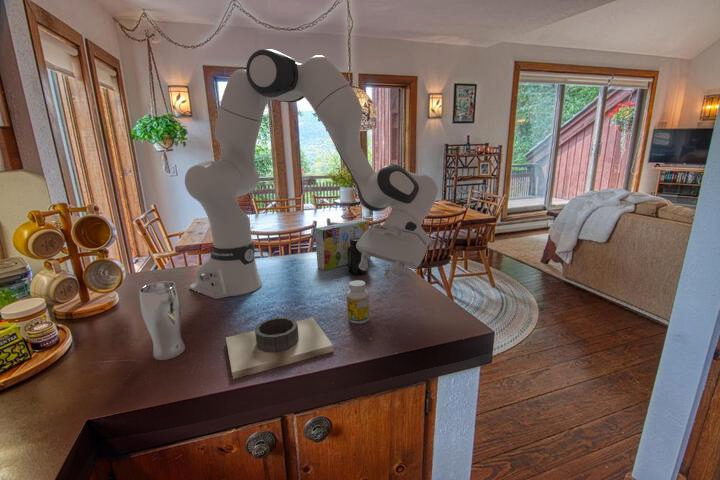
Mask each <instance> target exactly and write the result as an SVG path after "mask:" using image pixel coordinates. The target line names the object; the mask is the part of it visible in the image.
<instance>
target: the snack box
mask: <svg viewBox="0 0 720 480" xmlns="http://www.w3.org/2000/svg"><path fill="white" fill-rule="evenodd" d="M369 223H370V222H369V220H367V219H361V218H360V219H355V220H354V219H353V220H350V221H345V222H344V221H343V222H340V223H335V224H330V225H323V226H319V227H315V228H314V238H315V249H316V251H315V252H316V261H317V262H316V263H317V265H316V266H317V268H318V267H319V268H318V269H320V268H321V270H322V269H323V271H324V272H326V270H327V271H330V270H332V268H333V269H337V268H339V266H340V267H344V266H347V265H348V261H347V249H348V247H349V246H351V245H350V239H351V238H355V237H360V238H361V237H362V235H363V234H364V233H365V232H366V231H367V230H368V229H369V228H370V226H369V225H370V224H369ZM346 264H347V265H346ZM343 265H344V266H343ZM336 267H337V268H336ZM329 269H330V270H329Z"/></svg>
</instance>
